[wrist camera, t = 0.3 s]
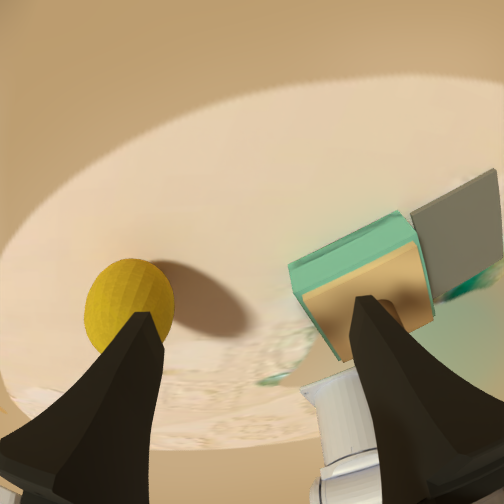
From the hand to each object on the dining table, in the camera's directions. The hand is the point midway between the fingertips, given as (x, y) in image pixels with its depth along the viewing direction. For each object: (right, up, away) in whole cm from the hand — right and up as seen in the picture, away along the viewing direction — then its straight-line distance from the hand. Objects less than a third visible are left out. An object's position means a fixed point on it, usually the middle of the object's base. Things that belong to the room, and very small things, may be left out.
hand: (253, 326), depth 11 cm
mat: (+16, +4, +10) cm, 20 cm away
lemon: (-8, +1, +11) cm, 14 cm away
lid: (+8, -1, +9) cm, 13 cm away
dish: (+8, +1, +12) cm, 14 cm away
